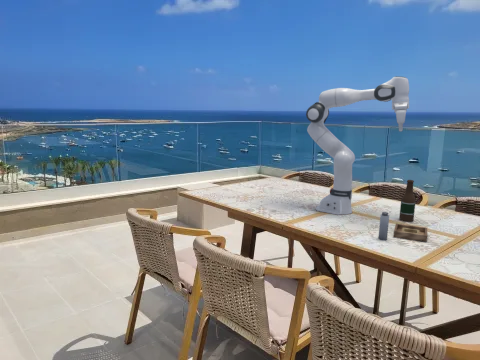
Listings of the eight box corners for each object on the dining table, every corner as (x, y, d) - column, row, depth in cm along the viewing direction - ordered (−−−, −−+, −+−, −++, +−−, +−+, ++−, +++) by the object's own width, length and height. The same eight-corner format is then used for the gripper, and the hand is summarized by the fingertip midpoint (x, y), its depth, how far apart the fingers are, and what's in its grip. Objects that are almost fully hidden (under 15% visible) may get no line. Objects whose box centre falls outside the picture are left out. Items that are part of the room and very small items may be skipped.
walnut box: (393, 237, 182) (393, 230, 181) (395, 229, 195) (395, 223, 194) (426, 242, 175) (427, 235, 175) (426, 233, 189) (427, 227, 188)
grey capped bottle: (377, 239, 178) (380, 213, 176) (378, 236, 182) (381, 211, 179) (386, 240, 176) (389, 214, 174) (387, 238, 180) (389, 212, 178)
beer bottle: (412, 219, 216) (416, 179, 212) (414, 222, 208) (419, 181, 204) (398, 218, 218) (402, 178, 214) (400, 221, 210) (404, 180, 206)
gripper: (394, 106, 214) (394, 129, 216) (394, 106, 195) (394, 132, 197) (406, 105, 211) (406, 129, 214) (407, 105, 193) (407, 131, 195)
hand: (400, 130), depth 205 cm, fingers open, 8 cm apart
